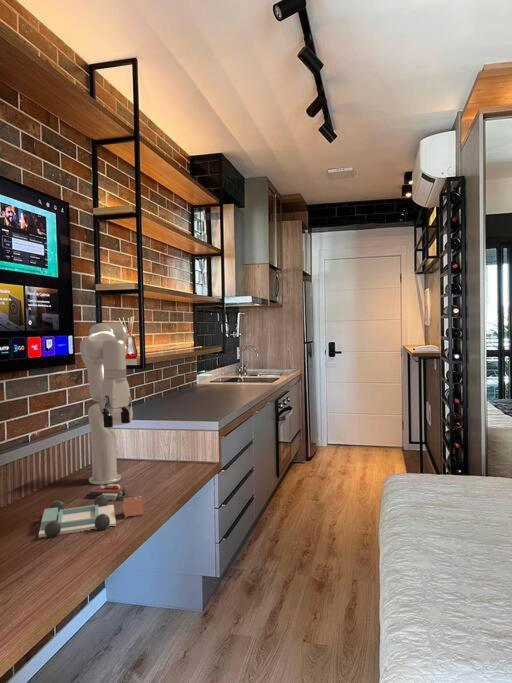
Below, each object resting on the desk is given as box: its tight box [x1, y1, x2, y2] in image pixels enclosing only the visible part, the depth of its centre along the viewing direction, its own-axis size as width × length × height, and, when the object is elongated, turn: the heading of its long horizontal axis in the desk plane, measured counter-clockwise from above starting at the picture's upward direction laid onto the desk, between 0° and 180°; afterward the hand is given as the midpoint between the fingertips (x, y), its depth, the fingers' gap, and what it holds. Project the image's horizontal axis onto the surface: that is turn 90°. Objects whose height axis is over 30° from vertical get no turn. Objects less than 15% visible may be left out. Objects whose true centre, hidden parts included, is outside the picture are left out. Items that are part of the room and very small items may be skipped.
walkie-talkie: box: [86, 483, 137, 501], centre depth 183 cm, size 9×4×20 cm
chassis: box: [38, 495, 117, 539], centre depth 159 cm, size 21×22×4 cm
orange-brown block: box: [122, 495, 145, 518], centre depth 164 cm, size 5×6×5 cm
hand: (117, 425), depth 171 cm, fingers open, 9 cm apart
